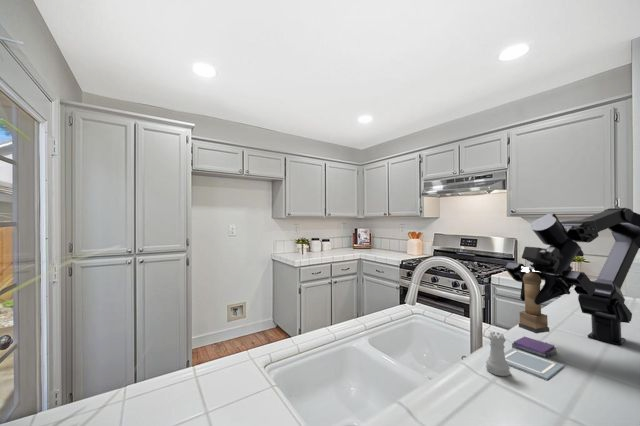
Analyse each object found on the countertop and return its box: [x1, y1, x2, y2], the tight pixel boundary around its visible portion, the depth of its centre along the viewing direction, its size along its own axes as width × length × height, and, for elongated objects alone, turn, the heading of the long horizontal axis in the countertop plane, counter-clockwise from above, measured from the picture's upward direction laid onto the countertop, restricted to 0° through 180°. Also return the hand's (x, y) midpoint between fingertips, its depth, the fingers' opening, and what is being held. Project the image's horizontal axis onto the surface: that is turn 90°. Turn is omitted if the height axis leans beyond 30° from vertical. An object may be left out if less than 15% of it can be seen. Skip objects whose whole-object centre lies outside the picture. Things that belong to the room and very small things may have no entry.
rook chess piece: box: [485, 331, 511, 377], centre depth 59 cm, size 4×4×8 cm
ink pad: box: [511, 336, 558, 360], centre depth 69 cm, size 7×7×2 cm
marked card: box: [504, 347, 565, 381], centre depth 62 cm, size 10×10×1 cm
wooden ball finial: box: [518, 272, 550, 334], centre depth 69 cm, size 4×4×14 cm
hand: (528, 301), depth 69 cm, fingers closed on wooden ball finial, 3 cm apart
